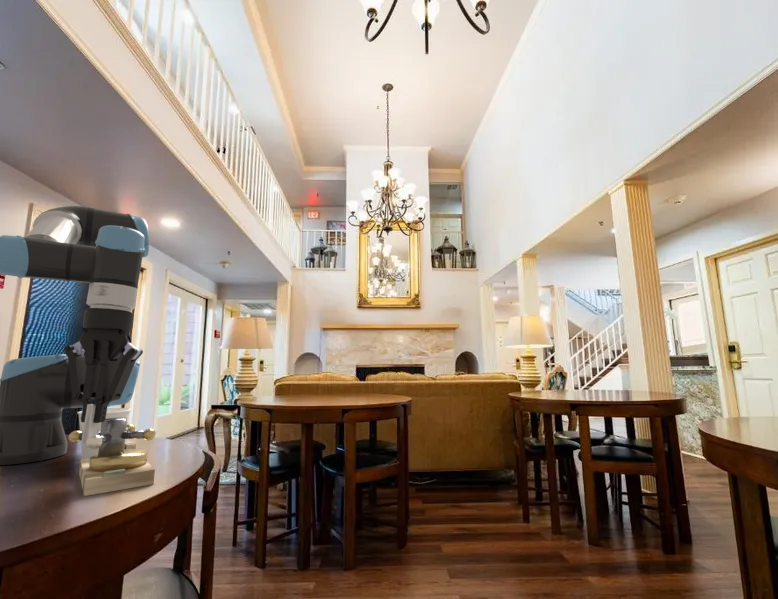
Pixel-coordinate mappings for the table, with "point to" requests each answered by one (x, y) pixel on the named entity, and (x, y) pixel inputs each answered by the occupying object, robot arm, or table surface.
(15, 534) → the table surface
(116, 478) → the stand
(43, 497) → the table surface
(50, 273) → the robot arm
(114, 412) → the cup
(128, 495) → the table surface
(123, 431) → the capstan
